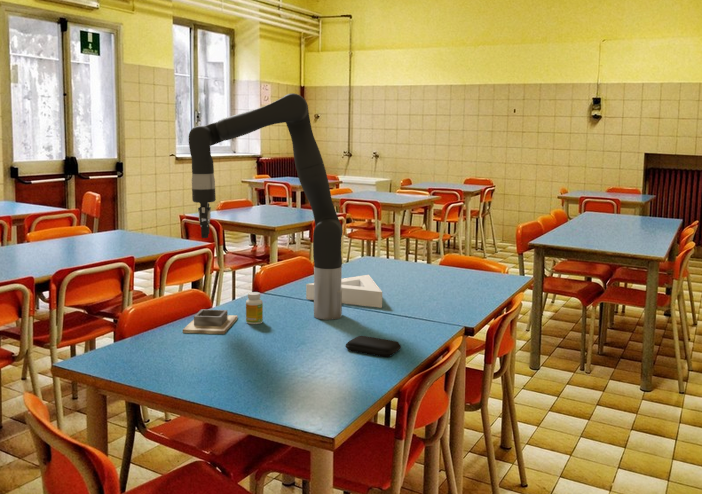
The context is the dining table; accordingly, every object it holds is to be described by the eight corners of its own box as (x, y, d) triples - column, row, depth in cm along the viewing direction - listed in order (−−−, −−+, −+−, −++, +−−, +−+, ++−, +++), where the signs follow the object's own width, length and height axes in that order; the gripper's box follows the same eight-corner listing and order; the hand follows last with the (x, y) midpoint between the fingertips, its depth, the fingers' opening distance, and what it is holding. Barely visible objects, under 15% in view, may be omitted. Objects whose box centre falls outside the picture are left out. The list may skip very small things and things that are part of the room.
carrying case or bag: (404, 349, 201) (359, 342, 208) (405, 339, 201) (359, 332, 207) (389, 360, 192) (342, 351, 199) (389, 349, 191) (343, 341, 198)
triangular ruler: (306, 300, 258) (306, 284, 257) (334, 286, 282) (334, 271, 281) (381, 309, 247) (382, 292, 246) (404, 293, 271) (404, 278, 270)
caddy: (237, 318, 230) (237, 306, 230) (224, 334, 213) (224, 321, 212) (199, 317, 231) (198, 305, 231) (182, 332, 213) (182, 320, 213)
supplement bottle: (259, 325, 223) (259, 295, 221) (243, 324, 224) (243, 294, 222) (264, 320, 228) (264, 292, 226) (249, 319, 229) (249, 291, 228)
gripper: (214, 189, 222) (216, 239, 224) (215, 185, 235) (217, 232, 238) (190, 189, 220) (192, 239, 223) (193, 186, 234) (195, 233, 237)
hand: (205, 236), depth 231 cm, fingers open, 8 cm apart
